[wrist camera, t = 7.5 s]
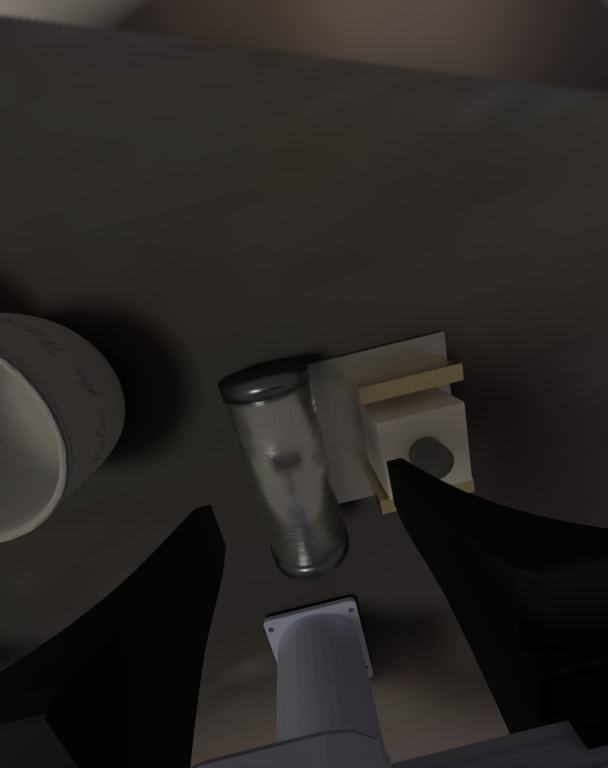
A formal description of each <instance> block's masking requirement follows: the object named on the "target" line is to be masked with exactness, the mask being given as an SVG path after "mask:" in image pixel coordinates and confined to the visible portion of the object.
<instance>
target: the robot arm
mask: <svg viewBox="0 0 608 768" xmlns="http://www.w3.org/2000/svg"><path fill="white" fill-rule="evenodd" d="M386 462H387V468H388V473H389V479H390V484H391V490H392V495H393V501H394V505H395V507H396V510H397V512H398V514H399V516H400V519H401V521H402V523H403V525H404V527H405V529H406V531H407V532H408V534H409V536H410V537H411V539H412V541H413V542H414V544H415V546H416V547H417V549H418V551H419V552H420V554H421V555H422V557H423V559H424V560H425V562H426V564H427V565H428V567H429V569H430V570H431V572H432V573H433V575H434V577H435V578H436V580H437V582H438V584H439V585H440V587H441V589H442V591H443V593H444V594H445V596H446V598H447V600H448V602H449V604H450V607H451V609H452V611H453V613H454V615H455V617H456V619H457V621H458V623H459V625H460V627H461V629H462V631H463V633H464V635H465V637H466V639H467V641H468V644H469V646H470V648H471V650H472V652H473V654H474V656H475V658H476V660H477V663H478V665H479V667H480V669H481V671H482V673H483V675H484V678H485V680H486V682H487V684H488V686H489V688H490V691H491V693H492V695H493V697H494V699H495V701H496V704H497V706H498V708H499V710H500V713H501V715H502V717H503V719H504V721H505V724H506V726H507V728H508V730H509V733H510V734H509V735H505V736H501V737H497V738H493V739H489V740H485V741H481V742H477V743H473V744H469V745H465V746H461V747H457V748H453V749H449V750H445V751H441V752H437V753H433V754H429V755H425V756H421V757H417V758H413V759H409V760H405V761H401V762H397V763H393V764H391V760H390V756H389V755H388V753H387V752H386V751H385V747H384V743H383V739H382V734H381V730H380V725H379V721H378V717H377V712H376V708H375V703H374V699H373V695H372V690H371V686H370V681H369V678H371V677H372V676H373V671H372V667H371V663H370V659H369V654H368V650H367V646H366V642H365V638H364V634H363V630H362V626H361V622H360V618H359V614H358V610H357V606H356V602H355V599H354V598H352V597H348V598H344V599H340V600H336V601H332V602H328V603H324V604H319V605H315V606H311V607H307V608H303V609H299V610H295V611H291V612H287V613H283V614H279V615H275V616H271V617H268V618H266V619H265V620H264V628H265V631H266V633H267V636H268V639H269V642H270V644H271V647H272V650H273V653H274V656H275V658H276V661H277V716H276V743H273V744H269V745H265V746H261V747H257V748H253V749H249V750H245V751H241V752H237V753H233V754H229V755H225V756H221V757H217V758H213V759H209V760H205V761H203V762H201V763H199V764H196V765H194V766H192V767H190V765H191V755H192V746H193V736H194V727H195V719H196V711H197V703H198V695H199V687H200V681H201V674H202V667H203V660H204V654H205V649H206V644H207V639H208V634H209V630H210V626H211V622H212V618H213V613H214V609H215V605H216V601H217V597H218V592H219V588H220V584H221V580H222V575H223V569H224V561H225V550H226V545H225V542H224V540H223V537H222V534H221V532H220V529H219V526H218V523H217V521H216V518H215V515H214V513H213V510H212V507H211V505H207V506H203V507H199V508H196V509H194V510H193V511H192V512H191V513H190V514H189V515H188V516H187V517H186V518H185V519H184V521H183V522H182V523H181V524H180V525H179V526H178V527H177V528H176V529H175V530H174V531H173V532H172V533H171V535H170V536H169V537H168V538H167V539H166V540H165V541H164V542H163V543H162V544H161V545H160V546H159V547H158V548H157V549H156V550H155V551H154V552H153V553H152V554H151V555H150V556H149V557H148V558H147V559H146V560H145V561H144V562H143V563H142V564H141V565H140V566H139V567H138V568H137V569H136V570H135V571H134V572H133V573H132V574H131V575H130V576H129V577H128V578H127V579H126V580H125V581H124V582H122V583H121V584H120V585H119V586H118V587H117V588H116V589H114V590H113V591H112V592H111V593H110V594H109V595H107V596H106V597H105V598H104V599H103V600H101V601H100V602H99V603H98V604H96V605H95V606H94V607H92V608H91V609H90V610H89V611H87V612H86V613H85V614H84V615H82V616H81V617H80V618H78V619H77V620H76V621H75V622H73V623H72V624H71V625H69V626H68V627H67V628H65V629H64V630H62V631H61V632H60V633H58V634H57V635H55V636H54V637H53V638H51V639H50V640H48V641H47V642H45V643H44V644H42V645H41V646H39V647H38V648H37V649H35V650H34V651H32V652H31V653H29V654H28V655H26V656H25V657H23V658H22V659H20V660H18V661H17V662H15V663H14V664H12V665H10V666H9V667H7V668H6V669H4V670H2V671H1V672H0V768H608V529H606V528H600V527H594V526H588V525H581V524H575V523H570V522H565V521H560V520H555V519H551V518H546V517H542V516H538V515H534V514H530V513H526V512H523V511H519V510H516V509H512V508H509V507H506V506H503V505H500V504H496V503H494V502H491V501H488V500H485V499H483V498H480V497H477V496H475V495H472V494H470V493H468V492H465V491H463V490H461V489H459V488H457V487H454V486H452V485H450V484H448V483H446V482H444V481H442V480H440V479H438V478H436V477H434V476H433V475H431V474H429V473H427V472H425V471H424V470H422V469H420V468H418V467H417V466H415V465H413V464H411V463H410V462H408V461H406V460H404V459H403V458H398V459H394V460H390V461H386Z"/></svg>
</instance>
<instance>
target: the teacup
mask: <svg viewBox="0 0 608 768" xmlns="http://www.w3.org/2000/svg"><path fill="white" fill-rule="evenodd" d="M124 419H125V400H124V395H123V391H122V387H121V384H120V382H119V380H118V377H117V375H116V373H115V372H114V370H113V368H112V367H111V365H110V364H109V362H108V361H107V360H106V359H105V357H104V356H103V355H102V354H101V353H100V352H99V351H98V350H97V349H96V348H95V347H94V346H93V345H92V344H91V343H89V342H88V341H87V340H86V339H84V338H83V337H82V336H80V335H79V334H77V333H75V332H74V331H72V330H70V329H68V328H66V327H64V326H62V325H60V324H57V323H55V322H52V321H49V320H46V319H42V318H39V317H35V316H29V315H23V314H13V313H0V542H4V541H9V540H12V539H14V538H17V537H19V536H21V535H24V534H26V533H28V532H30V531H32V530H33V529H35V528H36V527H38V526H39V525H40V524H41V523H43V522H44V521H45V520H46V519H47V518H48V517H50V516H51V515H52V513H53V512H54V511H55V510H56V509H57V507H58V506H59V504H60V503H61V502H62V501H63V500H64V499H65V498H66V497H67V496H69V495H70V494H71V493H72V492H73V491H74V490H75V489H76V488H77V487H78V486H79V485H81V484H82V483H83V482H84V481H85V480H86V479H87V478H88V477H89V476H90V475H91V474H92V473H93V472H94V471H95V470H96V469H97V468H98V467H99V466H100V465H101V464H102V463H103V461H104V460H105V459H106V458H107V457H108V455H109V454H110V453H111V452H112V450H113V449H114V447H115V445H116V443H117V441H118V439H119V437H120V435H121V433H122V429H123V426H124Z"/></svg>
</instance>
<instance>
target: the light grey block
mask: <svg viewBox="0 0 608 768" xmlns="http://www.w3.org/2000/svg"><path fill="white" fill-rule="evenodd" d="M358 405H359V410H360V415H361V420H362V426H363V431H364V436H365V441H366V446H367V451H368V456H369V461H370V464H371V466H372V468H373V469H374V471H375V473H376V475H377V477H378V479H379V480H380V482H381V484H382V486H383V488H384V490H385V491H386V493H387V495H388V497H389V499H390V500H392V499H393V495H392V490H391V484H390V479H389V473H388V468H387V462H386V461H390V460H394V459H398V458H403V459H404V460H406V461H408V462H410V463H411V464H413V465H415V466H417V467H418V468H420V469H422V470H424V471H425V472H427V473H429V474H431V475H433V476H434V477H436V478H438V479H440V480H442V481H444V482H446V483H448V484H450V485H453V484H457V483H461V482H465V481H469V480H472V476H471V465H470V455H469V445H468V434H467V424H466V414H465V404H464V402H463V401H461V400H459V399H458V398H456V397H454V396H452V395H450V394H448V393H446V392H445V391H443V390H441V389H439V388H437V387H433V388H429V389H425V390H421V391H417V392H413V393H408V394H404V395H400V396H396V397H392V398H388V399H384V400H380V401H376V402H372V403H368V404H364V405H361V404H360V403H359V402H358Z"/></svg>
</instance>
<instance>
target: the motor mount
mask: <svg viewBox="0 0 608 768" xmlns="http://www.w3.org/2000/svg"><path fill="white" fill-rule="evenodd" d="M461 380H464V377H463V367H462V363H460V362H457V361H454V360H451V359H448V358H447V353H446V344H445V335H444V331H436V332H432V333H428V334H424V335H420V336H416V337H412V338H408V339H404V340H399V341H395V342H391V343H387V344H383V345H379V346H375V347H371V348H367V349H363V350H359V351H355V352H350V353H346V354H342V355H338V356H334V357H330V358H326V359H322V360H318V361H314V362H310V363H307V360H306V359H304V358H287V359H280V360H275V361H270V362H266V363H262V364H258V365H255V366H251V367H248V368H245V369H242V370H240V371H237V372H235V373H232V374H230V375H228V376H226V377H224V378H223V379H221V380H220V381H219V382H218V387H219V390H220V393H221V396H222V399H223V402H224V403H226V405H227V409H228V412H229V415H230V418H231V421H232V424H233V427H234V430H235V433H236V437H237V440H238V443H239V446H240V449H241V452H242V455H243V458H244V461H245V464H246V468H247V471H248V474H249V477H250V480H251V483H252V486H253V489H254V492H255V496H256V499H257V502H258V505H259V508H260V511H261V514H262V517H263V520H264V523H265V527H266V530H267V533H268V536H269V539H270V542H271V550H272V553H273V557H274V560H275V563H276V565H277V567H278V569H279V570H280V571H281V572H282V573H283V574H284V575H286V576H288V577H289V578H292V579H296V580H312V579H317V578H320V577H322V576H325V575H327V574H329V573H330V572H332V571H333V570H334V569H336V568H337V567H338V566H339V565H340V564H341V562H342V561H343V560H344V558H345V556H346V554H347V552H348V548H349V538H348V533H347V529H346V525H345V522H344V520H343V519H342V515H341V510H340V506H339V504H340V503H344V502H348V501H353V500H357V499H361V498H365V497H369V496H373V495H374V497H375V499H376V501H377V504H378V506H379V508H380V510H381V512H382V514H386V513H390V512H394V511H397V510H396V507H395V505H394V501H393V499H392V500H390V499H389V497H388V495H387V493H386V491H385V490H384V488H383V486H382V484H381V482H380V480H379V479H378V477H377V475H376V473H375V471H374V469H373V468H372V466H371V464H370V461H369V456H368V451H367V446H366V441H365V436H364V431H363V426H362V420H361V415H360V410H359V405H358V402H359V403H360V404H361V405H364V404H368V403H372V402H376V401H380V400H384V399H388V398H392V397H396V396H400V395H404V394H408V393H413V392H417V391H421V390H425V389H429V388H433V387H437V388H439V389H441V390H443V391H445V392H446V393H448V394H450V395H451V389H450V383H453V382H457V381H461ZM452 486H454V487H457V488H459V489H461V490H463V491H465V492H468V493H471V492H475V490H474V480H473V477H472V480H469V481H465V482H461V483H457V484H453V485H452Z"/></svg>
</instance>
